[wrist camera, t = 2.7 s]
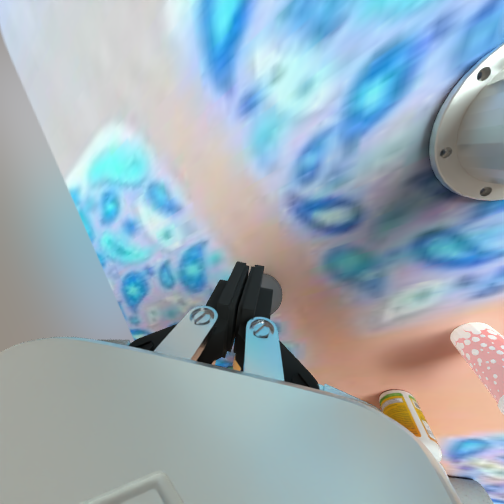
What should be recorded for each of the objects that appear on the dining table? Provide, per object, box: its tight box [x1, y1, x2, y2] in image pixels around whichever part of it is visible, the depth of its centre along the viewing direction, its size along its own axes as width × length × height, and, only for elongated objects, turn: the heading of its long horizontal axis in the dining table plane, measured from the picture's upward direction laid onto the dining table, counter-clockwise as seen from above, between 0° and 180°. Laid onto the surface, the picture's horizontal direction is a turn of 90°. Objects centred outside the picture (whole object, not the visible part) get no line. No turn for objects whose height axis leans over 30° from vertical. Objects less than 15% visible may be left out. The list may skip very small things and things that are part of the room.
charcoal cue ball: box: [261, 274, 282, 315], centre depth 26 cm, size 6×6×6 cm
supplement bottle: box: [379, 390, 449, 479], centre depth 30 cm, size 5×5×10 cm
